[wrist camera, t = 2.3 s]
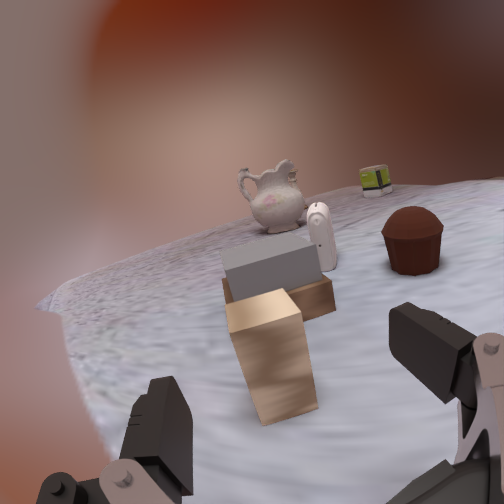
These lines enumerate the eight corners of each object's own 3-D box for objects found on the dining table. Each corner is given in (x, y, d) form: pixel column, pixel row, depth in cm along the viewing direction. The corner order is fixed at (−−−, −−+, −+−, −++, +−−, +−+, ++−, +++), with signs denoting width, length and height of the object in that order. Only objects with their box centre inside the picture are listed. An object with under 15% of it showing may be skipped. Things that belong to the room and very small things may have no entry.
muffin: (381, 259, 49) (374, 208, 47) (432, 250, 46) (428, 199, 43) (392, 284, 39) (386, 220, 36) (454, 272, 35) (452, 209, 33)
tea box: (377, 193, 137) (371, 166, 134) (393, 192, 129) (387, 164, 125) (363, 198, 129) (358, 169, 126) (380, 197, 121) (375, 166, 118)
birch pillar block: (301, 376, 26) (282, 288, 23) (318, 408, 21) (301, 312, 18) (253, 391, 25) (224, 304, 23) (262, 426, 20) (229, 333, 18)
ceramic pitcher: (251, 245, 93) (232, 171, 86) (250, 230, 112) (235, 169, 104) (314, 230, 92) (299, 156, 84) (303, 218, 111) (290, 157, 103)
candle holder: (289, 212, 139) (279, 173, 134) (294, 209, 147) (285, 171, 142) (305, 209, 135) (296, 169, 130) (309, 206, 143) (301, 168, 138)
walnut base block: (304, 282, 50) (299, 256, 49) (336, 313, 37) (331, 280, 36) (229, 304, 49) (221, 278, 48) (237, 344, 35) (227, 312, 34)
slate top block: (294, 259, 48) (288, 231, 47) (322, 279, 37) (316, 243, 35) (227, 279, 47) (219, 251, 46) (235, 306, 35) (225, 270, 34)
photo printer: (337, 270, 50) (325, 204, 47) (314, 273, 52) (302, 209, 49) (338, 253, 60) (328, 197, 57) (319, 256, 61) (308, 201, 58)
